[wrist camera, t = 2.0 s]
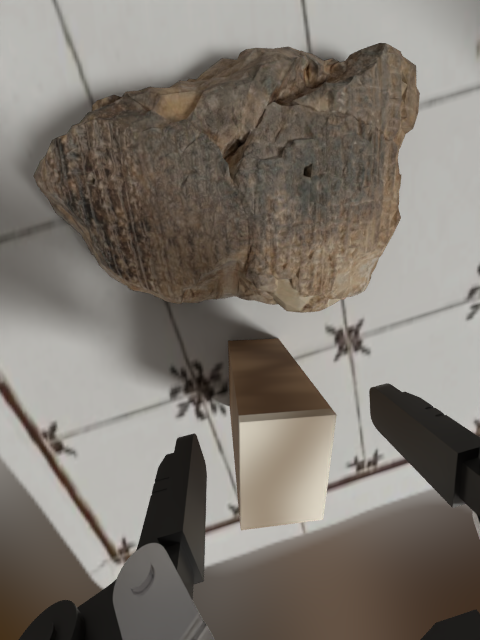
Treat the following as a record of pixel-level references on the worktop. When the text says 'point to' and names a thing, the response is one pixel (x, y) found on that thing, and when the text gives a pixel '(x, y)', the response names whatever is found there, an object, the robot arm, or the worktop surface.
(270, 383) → the walnut block
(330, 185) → the clay tablet
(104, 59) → the worktop surface
